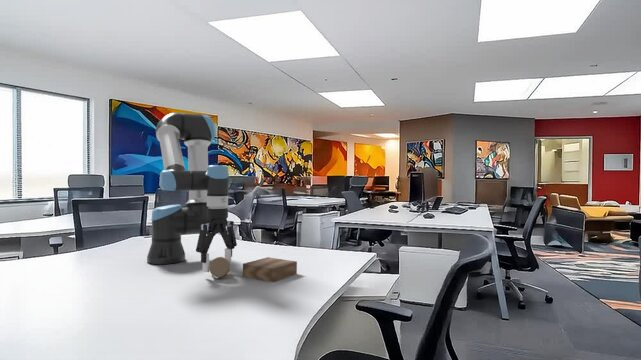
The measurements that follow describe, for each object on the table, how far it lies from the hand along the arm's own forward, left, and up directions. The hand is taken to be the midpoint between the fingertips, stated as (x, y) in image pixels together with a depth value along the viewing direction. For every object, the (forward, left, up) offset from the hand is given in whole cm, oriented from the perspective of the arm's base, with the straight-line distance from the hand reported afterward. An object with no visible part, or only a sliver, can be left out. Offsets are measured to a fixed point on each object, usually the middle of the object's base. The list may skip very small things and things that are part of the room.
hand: (217, 268), depth 143 cm
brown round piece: (0, +1, -3) cm, 3 cm away
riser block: (+15, +12, -3) cm, 19 cm away
